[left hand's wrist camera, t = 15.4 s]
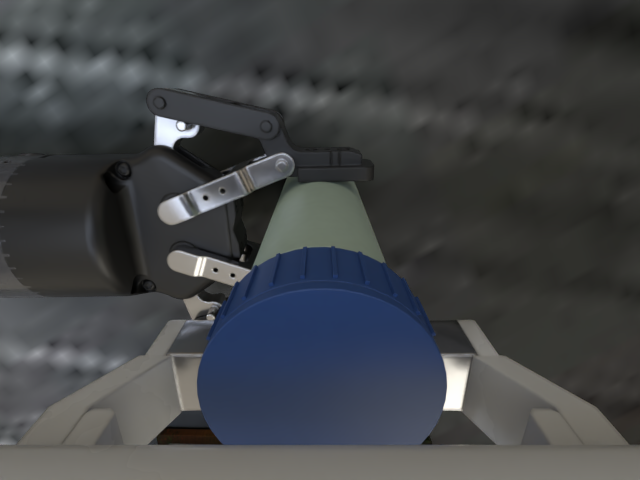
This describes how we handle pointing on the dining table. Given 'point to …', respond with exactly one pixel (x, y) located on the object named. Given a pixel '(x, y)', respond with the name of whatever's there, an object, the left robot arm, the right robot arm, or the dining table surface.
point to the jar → (319, 220)
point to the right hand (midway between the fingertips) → (368, 221)
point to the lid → (321, 356)
